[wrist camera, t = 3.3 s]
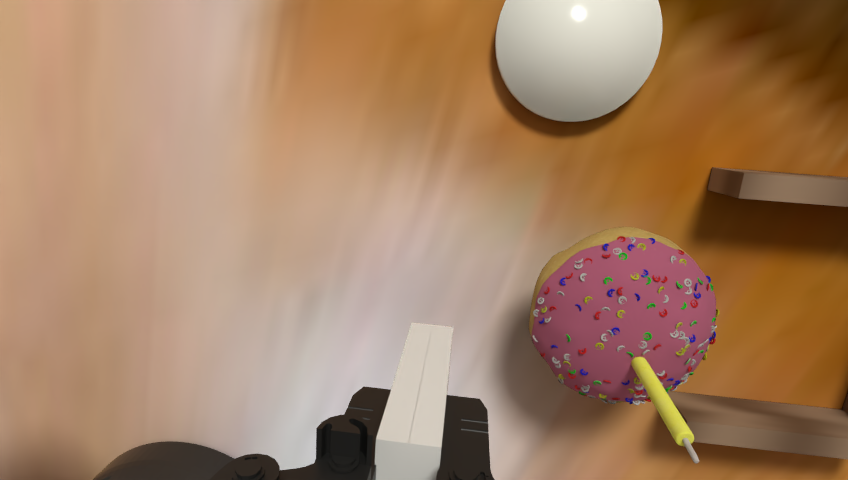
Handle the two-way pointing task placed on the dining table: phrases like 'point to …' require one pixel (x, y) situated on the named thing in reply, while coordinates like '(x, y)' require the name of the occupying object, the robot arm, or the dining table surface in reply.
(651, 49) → the white round domed disc
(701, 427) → the bay
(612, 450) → the dining table surface
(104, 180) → the dining table surface
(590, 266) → the cupcake
